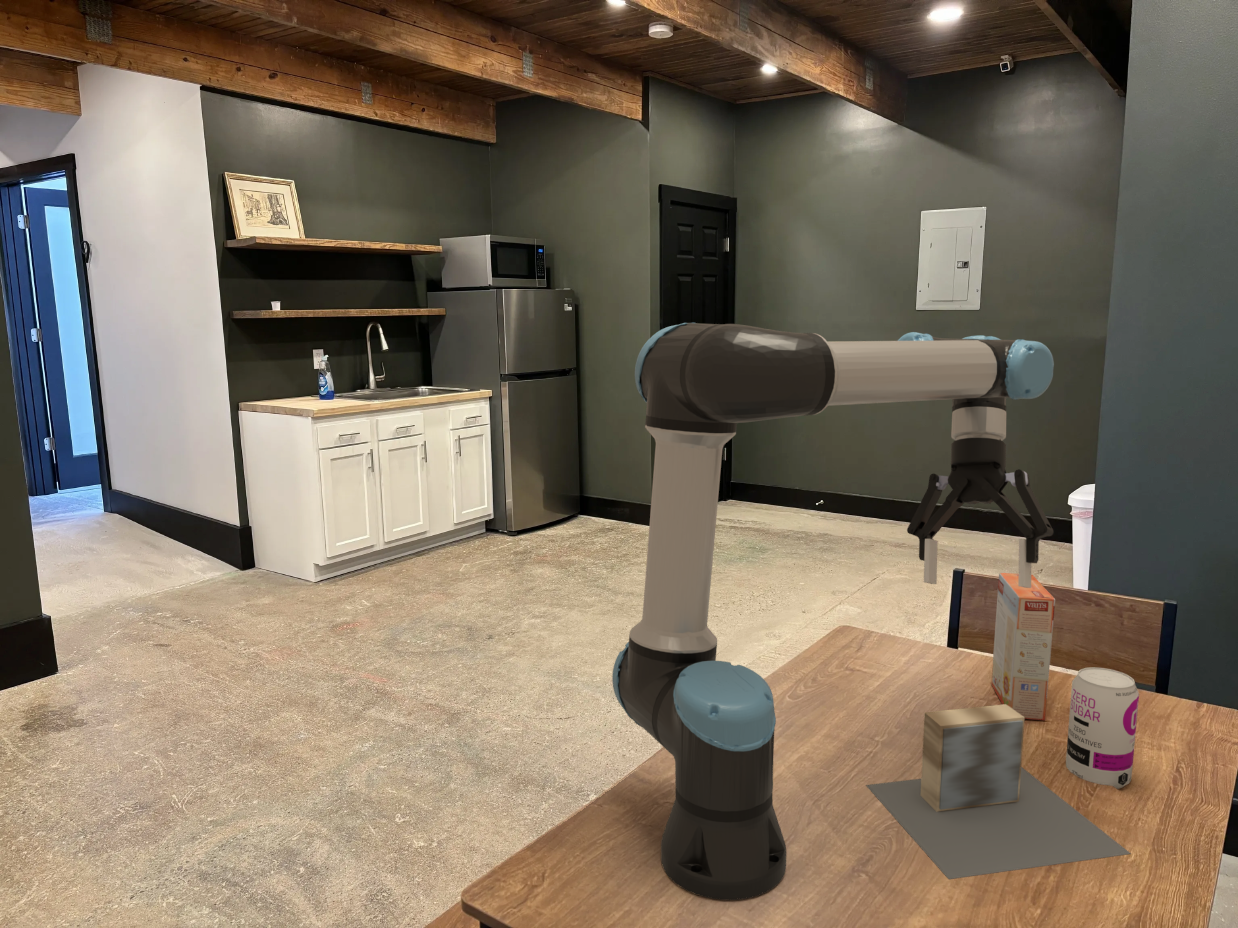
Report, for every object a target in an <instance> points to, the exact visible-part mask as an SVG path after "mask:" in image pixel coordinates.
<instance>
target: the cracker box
mask: <svg viewBox="0 0 1238 928" xmlns="http://www.w3.org/2000/svg"><path fill="white" fill-rule="evenodd" d="M1018 584H1019V573H1012V572H1011V573H1010V572H1009V573H1008V572H1000V573H998V584H997V596H996V597H997V601H996V602H997V603H996V610H995V611H996V614H995V615H996V616H995V624H994V625H995V626H994V627H995V628H994V639H993V640H994V643H993V656H992V667H991V669H992V670H991V671H992V672H991V682H990V684H991V686H992V689H993V690H994V692H995V693H996V696H997V697H998V699H999V701H1000V703H1001V705H1003V704H1006V705H1008V706H1009V707H1011V708H1012V709H1014V710H1015V711H1016V712H1018V713H1019V714H1021V715H1022V716H1024V717H1025V718H1024V720H1031V721H1032V720H1033V721H1034V720H1035V721H1045V720H1046V714H1047V713H1046V712H1047V700H1048V690H1049V689H1048V688H1049V687H1048V686H1049V678H1050V677H1049V676H1050V665H1051V655H1052V654H1051V653H1052V642H1053V641H1052V640H1053V629H1054V620H1055V619H1054V618H1055V607H1056V599H1055V597H1054V596H1053V595H1052V594H1051V593H1050V592H1049V591H1048V590H1047V589H1046V588H1045V586H1044V585H1042V583H1041V582H1039V580H1038V579H1037V578H1036V577H1035V576H1034V574H1031V588H1025V587H1021V586H1018Z"/></svg>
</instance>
